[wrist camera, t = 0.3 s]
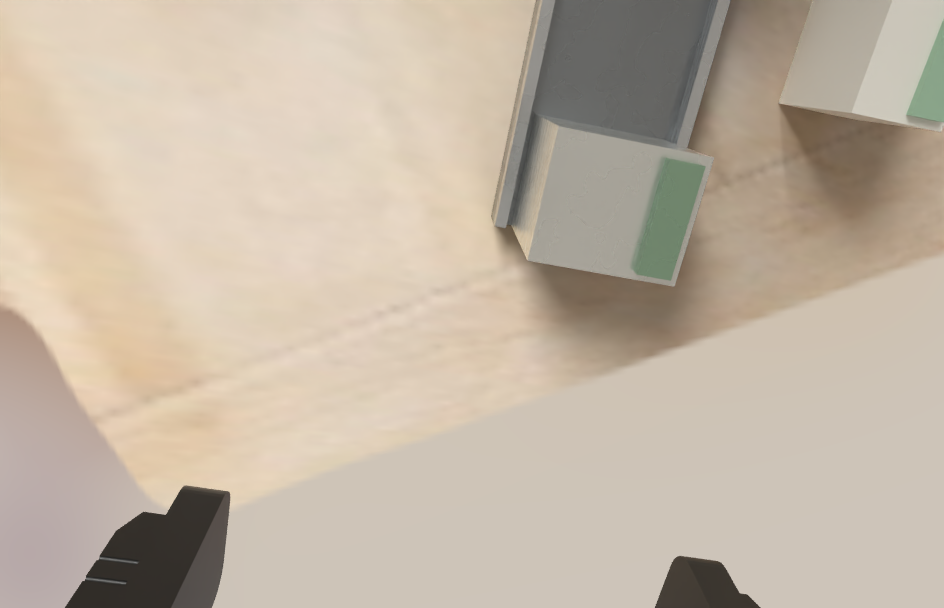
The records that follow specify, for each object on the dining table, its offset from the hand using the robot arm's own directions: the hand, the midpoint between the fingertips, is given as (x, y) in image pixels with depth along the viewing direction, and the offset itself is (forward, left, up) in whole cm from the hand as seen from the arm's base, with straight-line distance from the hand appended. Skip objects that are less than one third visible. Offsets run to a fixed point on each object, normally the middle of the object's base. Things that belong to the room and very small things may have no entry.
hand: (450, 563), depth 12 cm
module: (-13, +19, -28) cm, 36 cm away
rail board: (-13, +7, -28) cm, 32 cm away
